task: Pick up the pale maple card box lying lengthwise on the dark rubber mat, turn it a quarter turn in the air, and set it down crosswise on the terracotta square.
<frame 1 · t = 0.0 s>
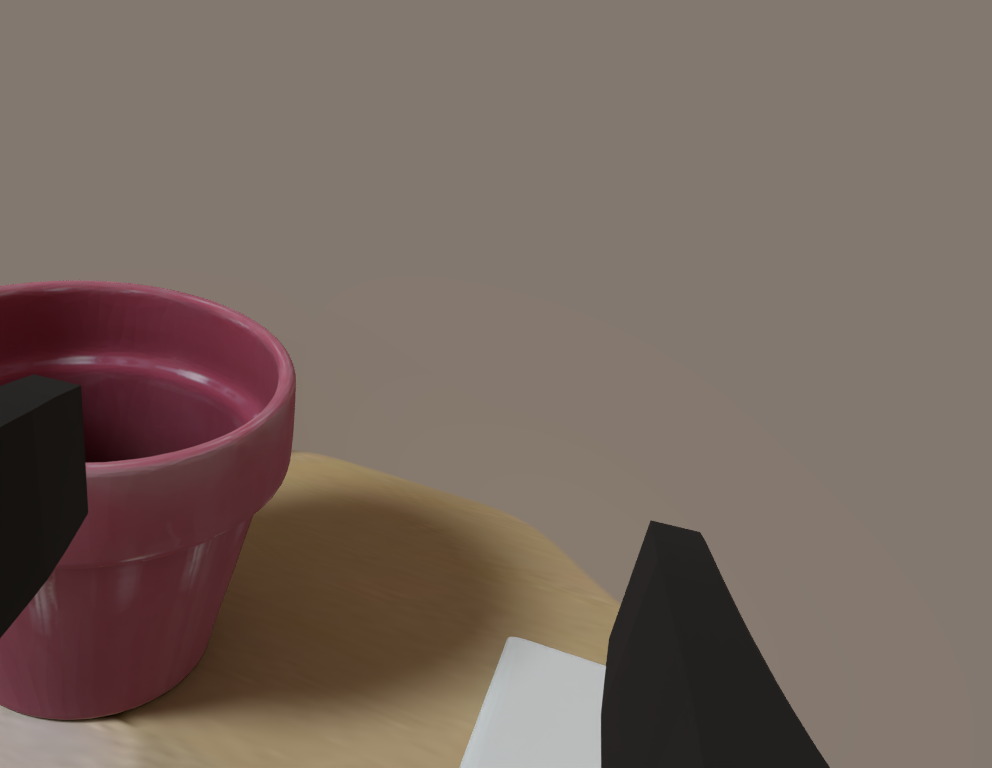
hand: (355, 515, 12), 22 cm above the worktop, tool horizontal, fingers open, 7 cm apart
plant pot: (90, 639, 38), on the worktop
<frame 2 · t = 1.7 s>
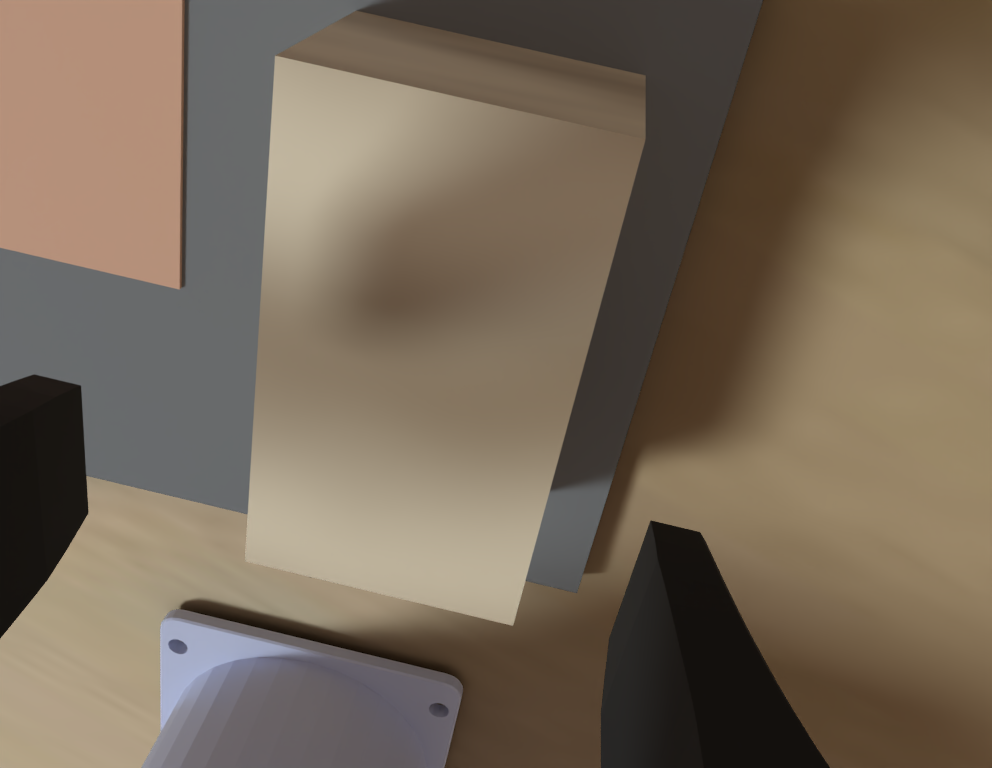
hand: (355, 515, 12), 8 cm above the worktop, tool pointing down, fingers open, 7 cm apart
card box: (457, 282, 18), point 1 cm above the worktop, touching mat
mat: (119, 37, 17), on the worktop
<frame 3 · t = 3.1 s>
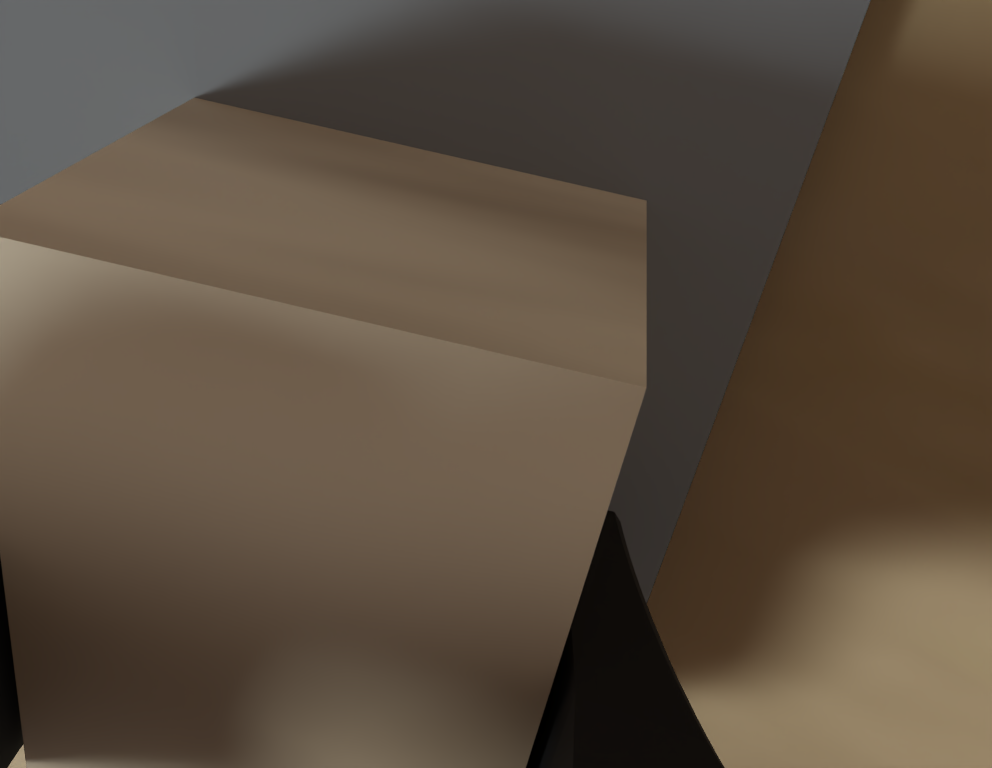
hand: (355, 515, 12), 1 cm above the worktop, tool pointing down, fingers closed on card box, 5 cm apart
card box: (371, 478, 12), point 1 cm above the worktop, touching gripper, mat
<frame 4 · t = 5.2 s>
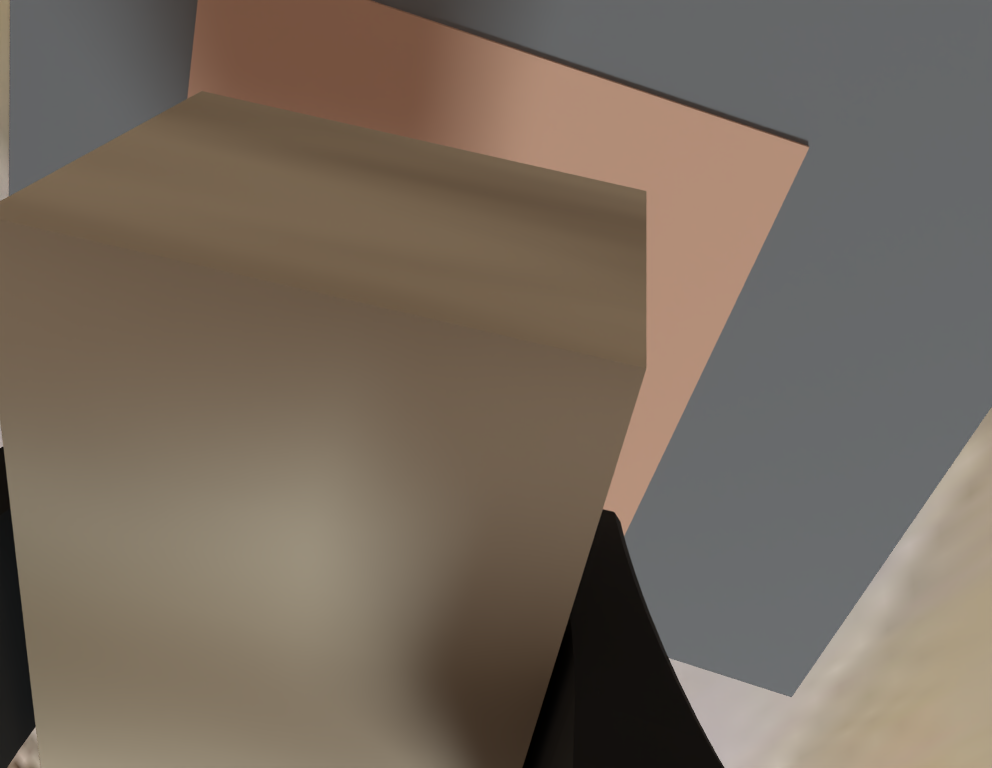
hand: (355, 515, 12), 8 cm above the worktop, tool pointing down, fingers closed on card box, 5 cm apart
card box: (375, 467, 12), point 7 cm above the worktop, touching gripper
mat: (541, 137, 17), on the worktop
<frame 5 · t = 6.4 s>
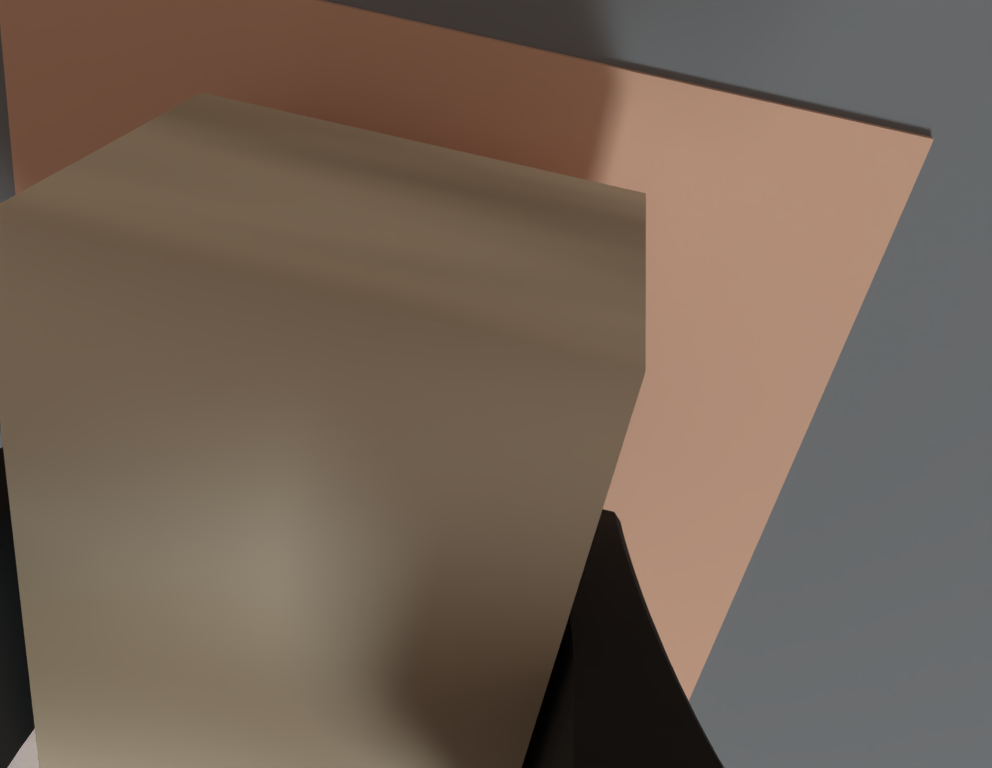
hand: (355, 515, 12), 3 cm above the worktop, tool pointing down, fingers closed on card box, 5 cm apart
card box: (375, 468, 12), point 2 cm above the worktop, touching gripper
mat: (522, 160, 12), on the worktop
when the fingers open (3 cm above the worktop, at t = 7.3 s): card box stays where it is, resting on mat.
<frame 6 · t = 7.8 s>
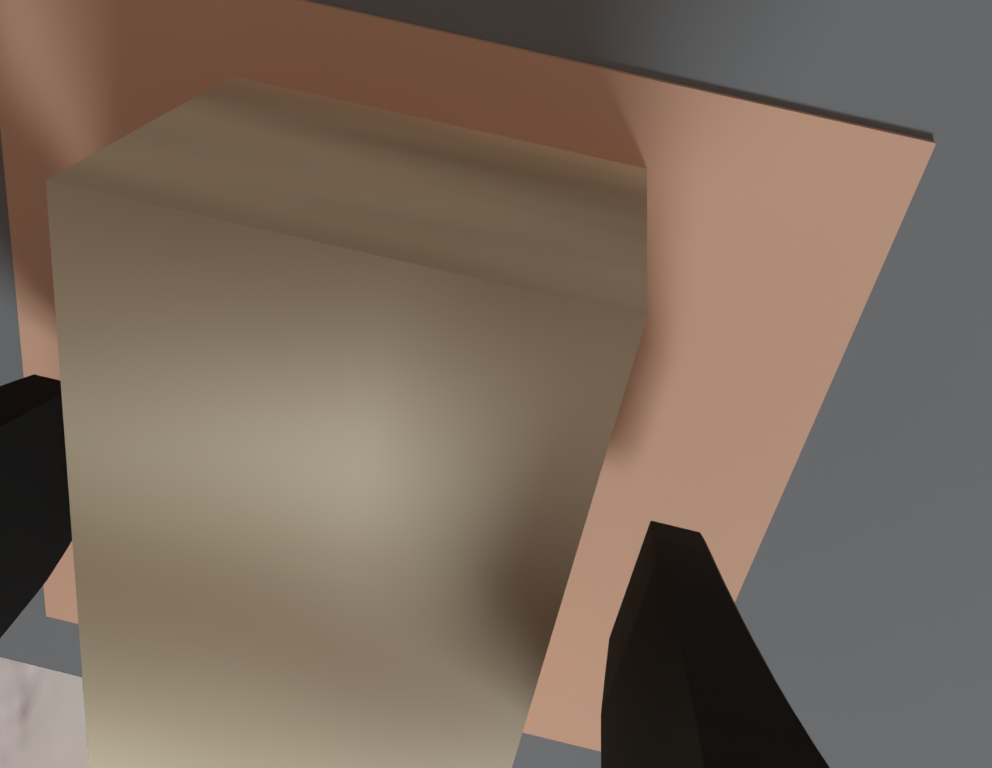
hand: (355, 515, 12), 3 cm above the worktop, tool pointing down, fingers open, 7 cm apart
card box: (392, 432, 13), point 1 cm above the worktop, touching mat
mat: (520, 164, 12), on the worktop
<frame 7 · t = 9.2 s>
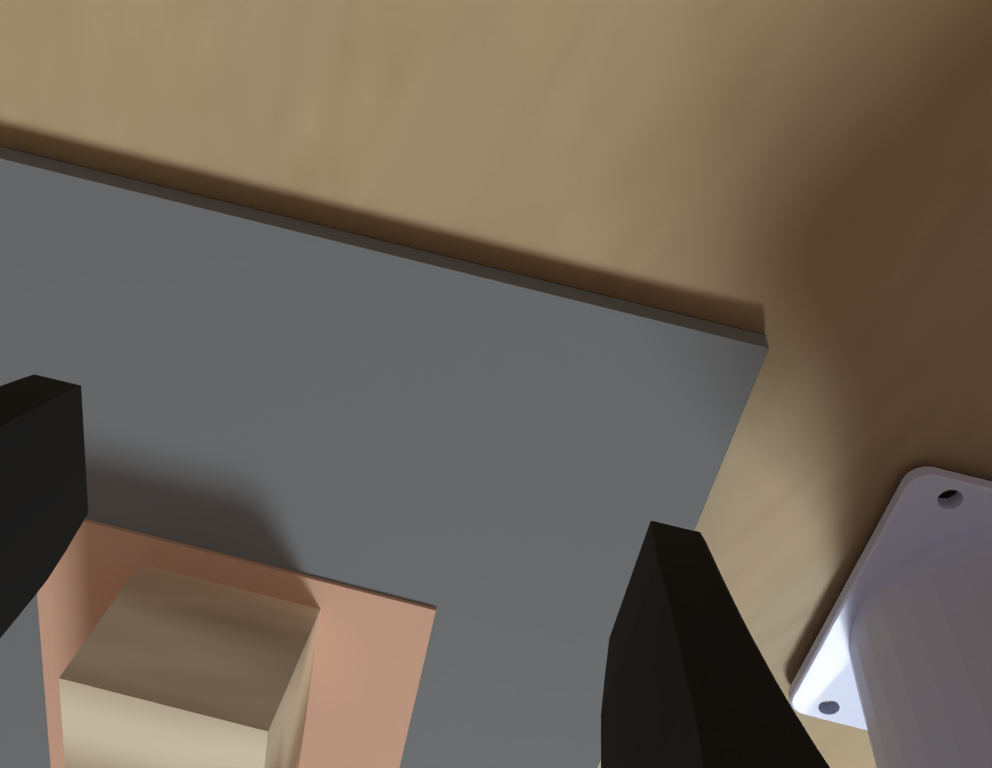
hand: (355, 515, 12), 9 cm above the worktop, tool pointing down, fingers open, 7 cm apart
card box: (222, 697, 27), point 1 cm above the worktop, touching mat
mat: (274, 591, 26), on the worktop
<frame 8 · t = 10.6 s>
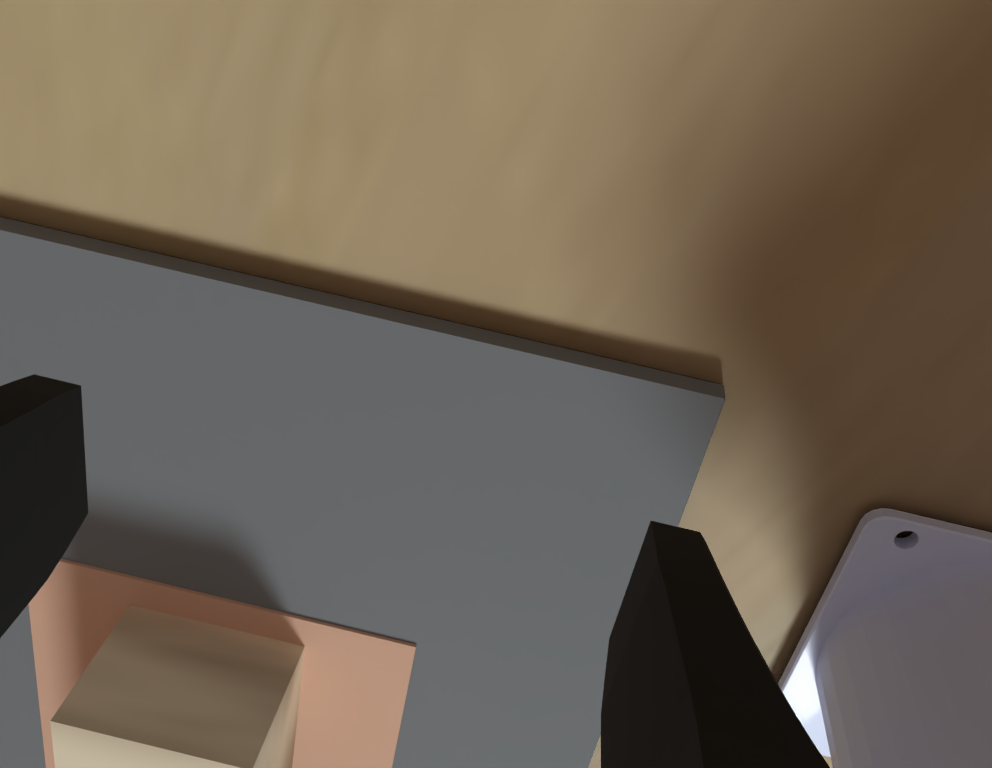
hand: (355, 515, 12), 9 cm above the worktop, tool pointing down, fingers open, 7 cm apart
card box: (213, 730, 28), point 1 cm above the worktop, touching mat
mat: (260, 628, 26), on the worktop
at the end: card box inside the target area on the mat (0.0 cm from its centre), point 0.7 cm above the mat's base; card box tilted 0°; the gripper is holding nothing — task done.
